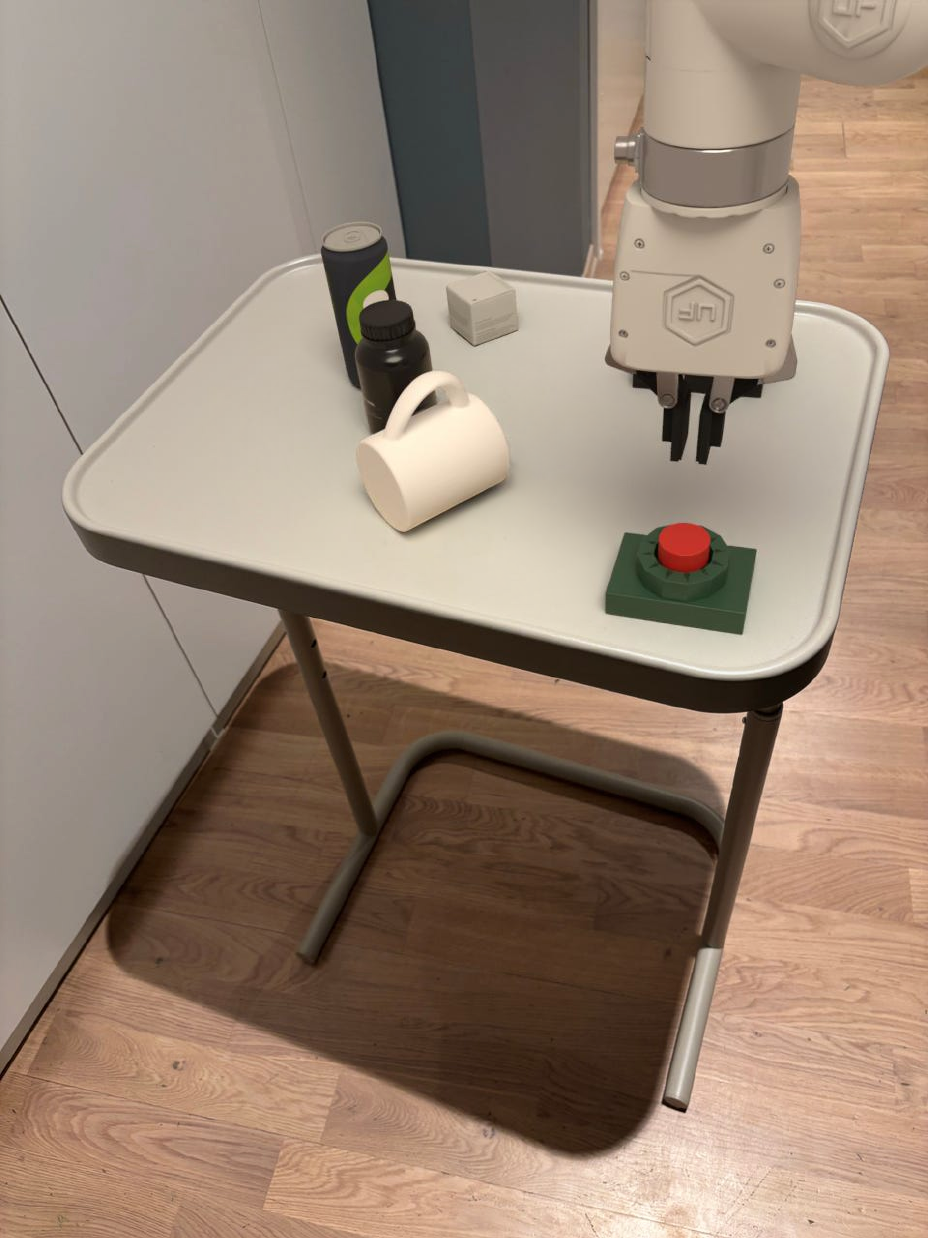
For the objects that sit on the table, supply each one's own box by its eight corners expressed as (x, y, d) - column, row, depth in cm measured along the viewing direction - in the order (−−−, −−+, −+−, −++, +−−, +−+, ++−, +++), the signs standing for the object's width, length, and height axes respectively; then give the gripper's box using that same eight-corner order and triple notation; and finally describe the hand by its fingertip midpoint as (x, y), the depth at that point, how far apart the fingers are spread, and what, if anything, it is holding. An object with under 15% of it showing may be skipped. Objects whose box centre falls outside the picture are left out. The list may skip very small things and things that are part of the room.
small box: (520, 330, 101) (517, 287, 97) (473, 347, 99) (468, 304, 96) (493, 310, 105) (490, 267, 101) (448, 326, 103) (443, 284, 100)
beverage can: (350, 365, 100) (319, 224, 89) (408, 357, 99) (384, 216, 89) (348, 397, 95) (316, 253, 85) (409, 389, 95) (384, 244, 84)
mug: (365, 503, 83) (337, 384, 74) (460, 455, 86) (445, 336, 78) (415, 549, 78) (391, 428, 69) (514, 496, 81) (504, 375, 73)
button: (711, 543, 69) (713, 525, 68) (704, 576, 67) (706, 558, 66) (662, 537, 70) (663, 519, 69) (653, 569, 68) (654, 551, 67)
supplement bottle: (356, 439, 90) (330, 325, 81) (393, 401, 94) (371, 288, 85) (418, 454, 87) (398, 336, 79) (453, 414, 91) (437, 298, 83)
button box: (753, 569, 72) (759, 530, 69) (742, 635, 68) (748, 595, 65) (624, 552, 75) (624, 513, 72) (605, 613, 70) (605, 575, 68)
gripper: (553, 187, 49) (564, 472, 62) (870, 193, 44) (809, 500, 57) (586, 132, 53) (589, 408, 67) (875, 133, 49) (818, 429, 62)
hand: (691, 449), depth 62 cm, fingers closed
